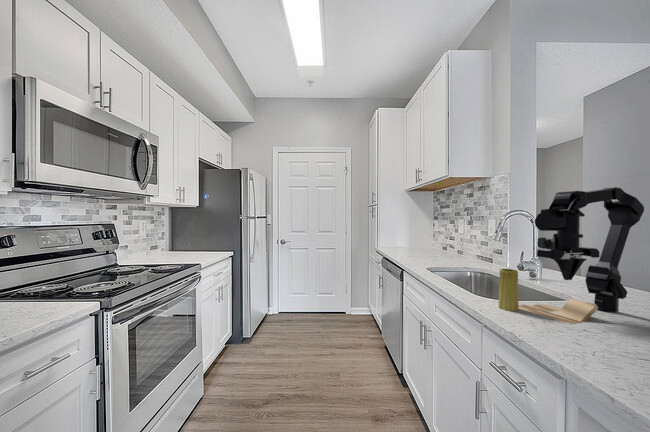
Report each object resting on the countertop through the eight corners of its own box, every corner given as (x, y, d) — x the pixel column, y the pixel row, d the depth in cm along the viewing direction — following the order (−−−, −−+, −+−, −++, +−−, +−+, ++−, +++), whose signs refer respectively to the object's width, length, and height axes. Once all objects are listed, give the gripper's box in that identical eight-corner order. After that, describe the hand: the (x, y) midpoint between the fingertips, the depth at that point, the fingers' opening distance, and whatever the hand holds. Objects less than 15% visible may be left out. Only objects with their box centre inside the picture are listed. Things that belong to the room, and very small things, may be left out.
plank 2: (573, 301, 106) (571, 298, 106) (598, 308, 99) (596, 304, 99) (557, 317, 104) (555, 314, 104) (582, 325, 97) (580, 321, 97)
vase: (520, 316, 106) (521, 271, 106) (499, 314, 108) (499, 270, 108) (516, 311, 112) (517, 269, 112) (496, 309, 114) (496, 268, 114)
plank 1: (544, 308, 116) (544, 304, 116) (565, 314, 109) (565, 309, 109) (526, 309, 114) (526, 305, 114) (546, 316, 107) (546, 311, 107)
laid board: (523, 309, 115) (523, 304, 115) (581, 327, 96) (581, 321, 96) (511, 310, 113) (511, 305, 113) (568, 329, 94) (568, 323, 94)
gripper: (567, 229, 116) (567, 274, 116) (523, 229, 111) (522, 276, 111) (600, 231, 105) (600, 280, 105) (553, 231, 101) (552, 283, 101)
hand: (567, 279), depth 106 cm, fingers closed
